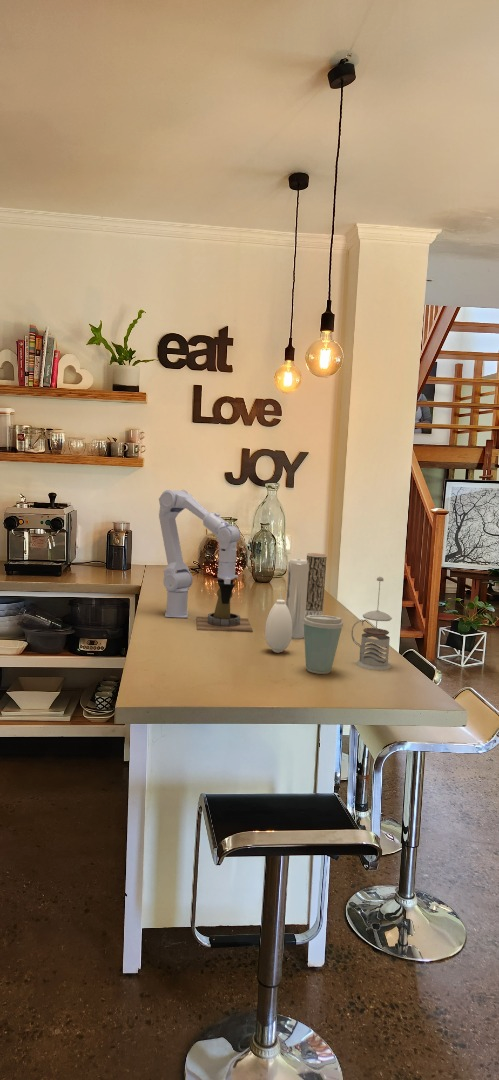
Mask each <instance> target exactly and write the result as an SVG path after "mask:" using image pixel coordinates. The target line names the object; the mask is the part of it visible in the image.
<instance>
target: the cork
mask: <svg viewBox="0 0 499 1080" xmlns="http://www.w3.org/2000/svg"><path fill="white" fill-rule="evenodd" d="M216 595H217V597H218V598H217V600H216V605H215V608H214V612H213V613H214V616H213V617H214V618H220V619H230V613H231V599H232V597H233V592H232V593H231V596H230V601H229V604H222V599H221V591H220V588H218V589H217V592H216Z"/></svg>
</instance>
